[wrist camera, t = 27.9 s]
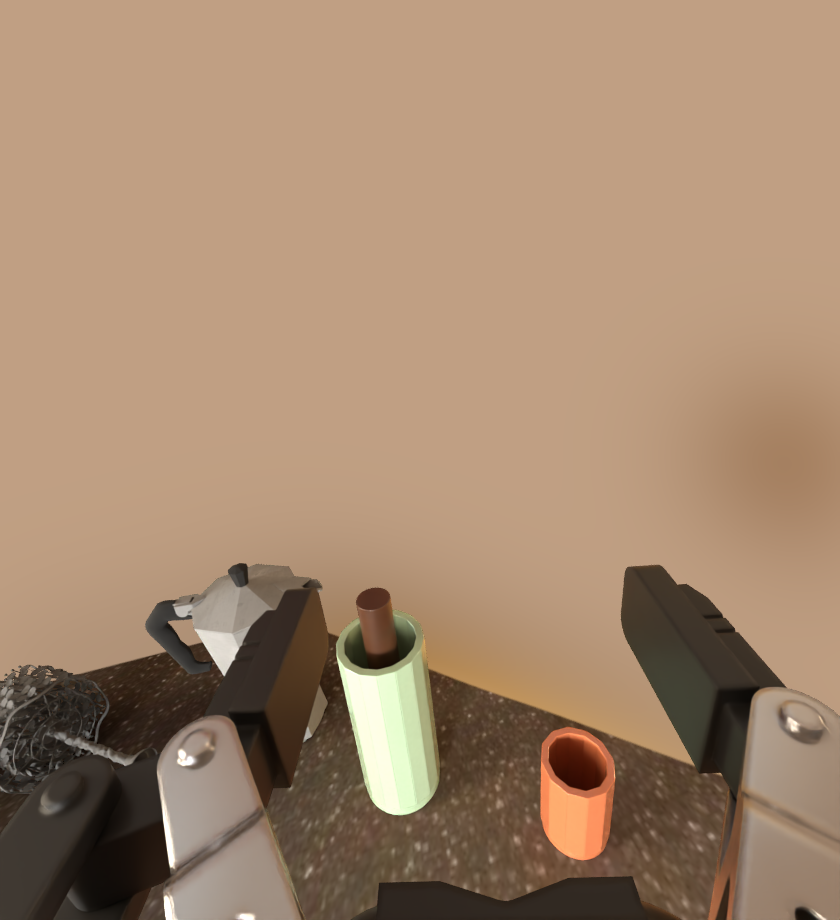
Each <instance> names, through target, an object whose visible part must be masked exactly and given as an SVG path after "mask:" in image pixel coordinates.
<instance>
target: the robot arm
mask: <svg viewBox="0 0 840 920" xmlns="http://www.w3.org/2000/svg"><path fill="white" fill-rule="evenodd" d="M621 622H622V628H623V631H624V635H625V637H626V640H627V642H628V644H629V645H630V647H631V649H632V651H633V652H634V655H635V656H636V658H637V660H638V662H639V664H640V666H641V667H642V669H643V671H644V673H645V675H646V677H647V678H648V680H649V682H650V684H651V686H652V688H653V689H654V691H655V693H656V695H657V697H658V698H659V700H660V702H661V704H662V706H663V708H664V710H665V711H666V713H667V715H668V717H669V719H670V721H671V722H672V724H673V726H674V728H675V730H676V731H677V733H678V735H679V737H680V739H681V741H682V743H683V744H684V746H685V748H686V750H687V751H688V753H689V755H690V757H691V759H692V761H693V763H694V764H695V766H696V768H697V770H698V772H699V773H721V774H722V776H723V777H724V779H725V781H726V782H727V784H728V786H729V789H728V793H727V797H726V805H725V812H724V819H723V826H722V833H721V840H720V848H719V855H718V862H717V869H716V876H715V883H714V890H713V896H712V901H711V906H710V911H709V916H708V920H840V716H839V715H838V714H836V713H835V712H834V711H833V710H832V709H830V708H829V707H828V706H826V705H825V704H823V703H822V702H820V701H818V700H817V699H815V698H812V697H810V696H809V695H806V694H804V693H802V692H799V691H796V690H792V689H788V688H786V686H785V685H784V684H783V683H782V682H781V681H780V680H779V679H778V677H777V676H776V675H775V674H774V673H773V672H772V670H771V669H770V668H769V667H768V666H767V665H766V664H765V662H764V661H763V660H762V659H761V658H760V657H759V656H758V655H757V653H756V652H755V651H754V650H753V649H752V648H751V646H749V644H748V643H747V642H746V641H745V640H744V638H743V637H742V636H741V635H740V634H739V633H738V632H735V628H734V627H733V626H732V625H731V624H730V623H729V621H728V620H727V619H726V618H723V615H722V613H721V612H720V611H719V610H718V609H717V608H716V607H715V605H714V604H713V603H712V602H711V601H710V600H709V599H708V598H707V597H706V596H704V595H703V594H701V593H699V592H698V591H696V590H695V589H693V588H692V587H690V586H689V585H687V584H681V585H677V584H676V582H675V581H674V580H673V579H672V578H671V576H670V575H669V574H668V573H667V571H666V570H665V569H664V568H663V567H662V566H660V565H649V566H633V567H627V569H626V571H625V577H624V588H623V598H622V608H621ZM327 654H328V631H327V626H326V623H325V618H324V614H323V609H322V605H321V601H320V597H319V593H318V590H317V589H316V588H315V587H311V588H297V589H287V590H286V591H285V592H284V594H283V596H282V598H281V600H280V602H279V605H278V607H277V609H276V610H266V611H265V612H264V613H263V614H262V615H261V616H260V617H259V618H258V619H257V620H256V621H255V622H254V623H253V624H252V625H251V627H250V629H249V631H248V632H247V634H246V636H245V638H244V640H243V642H242V646H240V648H239V650H238V651H237V653H236V655H235V660H233V661H232V663H231V665H230V667H229V669H228V670H227V672H226V674H225V676H224V678H223V680H222V682H221V684H220V686H219V688H218V689H217V691H216V693H215V695H214V697H213V699H212V701H211V703H210V705H209V707H208V708H207V710H206V712H205V714H204V716H203V718H200V719H197V720H195V721H193V722H191V723H190V724H188V725H187V726H185V727H184V728H183V729H181V730H180V731H179V732H178V733H177V734H176V735H174V736H173V738H172V739H171V740H170V741H169V742H168V743H167V745H166V746H165V748H164V749H163V751H162V753H160V754H157V755H155V756H152V757H149V758H146V759H143V760H140V761H138V762H135V763H132V764H129V765H126V766H123V767H121V768H118V769H115V770H114V769H113V767H112V765H111V763H110V762H109V760H108V759H107V758H106V757H104V756H102V755H87V756H83V757H80V758H77V759H75V760H73V761H70V762H69V763H67V764H65V765H63V766H61V767H60V768H58V769H57V770H55V771H54V772H53V773H51V774H50V775H49V776H47V777H46V778H45V779H44V780H43V781H42V782H41V783H40V784H39V785H38V786H37V787H36V788H35V789H34V790H33V791H32V792H31V793H30V795H29V796H28V797H27V798H26V800H25V801H24V803H23V804H22V805H21V807H20V808H19V809H18V811H17V812H16V813H15V815H14V816H13V818H12V819H11V820H10V822H9V823H8V824H7V826H6V827H5V828H4V830H3V831H2V833H1V834H0V920H138V919H139V916H140V914H141V912H142V909H143V907H144V904H145V902H146V900H147V897H148V895H149V892H150V890H151V888H152V887H154V886H156V885H159V884H161V883H163V882H164V904H165V912H166V920H306V919H305V916H304V913H303V910H302V908H301V905H300V902H299V899H298V896H297V894H296V891H295V888H294V885H293V882H292V879H291V877H290V874H289V871H288V868H287V865H286V862H285V860H284V857H283V854H282V851H281V848H280V845H279V843H278V840H277V837H276V834H275V831H274V828H273V825H272V823H271V820H270V817H269V814H268V811H267V806H268V802H269V799H270V796H271V793H272V790H273V788H290V787H291V784H292V780H293V777H294V773H295V769H296V766H297V762H298V759H299V755H300V752H301V748H302V744H303V741H304V737H305V734H306V730H307V727H308V723H309V719H310V716H311V712H312V709H313V705H314V701H315V698H316V694H317V691H318V687H319V684H320V680H321V676H322V673H323V669H324V666H325V662H326V658H327ZM351 920H681V919H680V918H678V917H676V916H674V915H673V914H671V913H669V912H668V911H665V910H663V909H661V908H659V907H656V906H654V905H652V904H650V903H646V902H643V901H640V898H639V895H638V892H637V889H636V886H635V883H634V880H633V877H632V876H629V877H590V878H567V879H565V880H562V881H560V882H557V883H555V884H552V885H549V886H547V887H544V888H542V889H539V890H537V891H534V892H532V893H529V894H526V895H524V896H521V897H519V898H516V899H514V900H510V901H501V900H497V899H494V898H491V897H488V896H484V895H481V894H478V893H475V892H472V891H469V890H466V889H462V888H459V887H456V886H453V885H450V884H447V883H443V882H440V881H432V882H392V883H379V890H378V902H377V906H376V907H373V908H371V909H368V910H366V911H364V912H363V913H361V914H359V915H357V916H356V917H354V918H352V919H351Z"/></svg>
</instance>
